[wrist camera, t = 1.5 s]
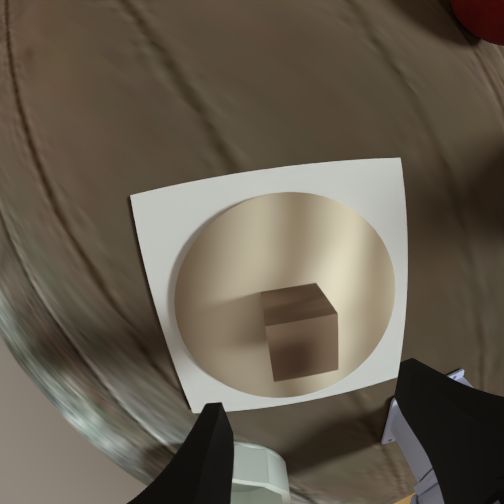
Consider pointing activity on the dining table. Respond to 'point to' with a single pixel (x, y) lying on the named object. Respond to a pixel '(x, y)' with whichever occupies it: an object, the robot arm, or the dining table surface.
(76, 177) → the dining table surface
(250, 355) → the lid
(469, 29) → the apple
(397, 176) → the mat
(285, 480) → the bowl
